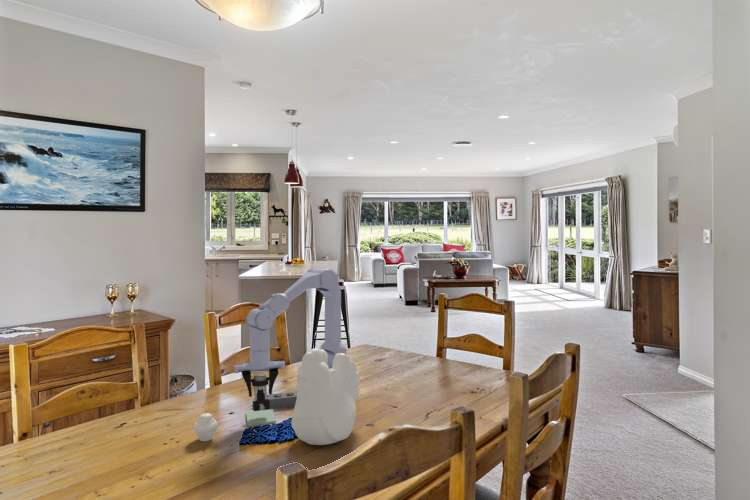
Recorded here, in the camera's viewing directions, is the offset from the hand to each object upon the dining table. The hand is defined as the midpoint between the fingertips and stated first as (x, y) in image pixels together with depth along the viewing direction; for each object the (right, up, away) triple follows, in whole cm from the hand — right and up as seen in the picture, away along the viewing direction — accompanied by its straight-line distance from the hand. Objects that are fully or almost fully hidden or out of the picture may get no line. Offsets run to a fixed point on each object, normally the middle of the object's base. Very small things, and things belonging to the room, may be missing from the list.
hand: (260, 394), depth 139 cm
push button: (0, -5, 0) cm, 5 cm away
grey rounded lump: (-11, -8, -14) cm, 19 cm away
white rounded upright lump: (+23, -8, -12) cm, 27 cm away
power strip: (+6, -7, +12) cm, 15 cm away
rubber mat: (0, -7, 0) cm, 7 cm away
